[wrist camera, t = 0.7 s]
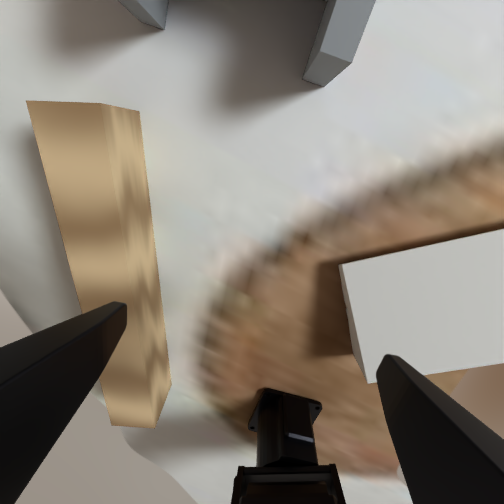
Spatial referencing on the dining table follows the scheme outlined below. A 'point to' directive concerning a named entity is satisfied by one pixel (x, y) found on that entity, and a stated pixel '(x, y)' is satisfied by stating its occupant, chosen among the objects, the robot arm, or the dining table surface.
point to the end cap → (326, 42)
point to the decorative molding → (429, 305)
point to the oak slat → (109, 241)
